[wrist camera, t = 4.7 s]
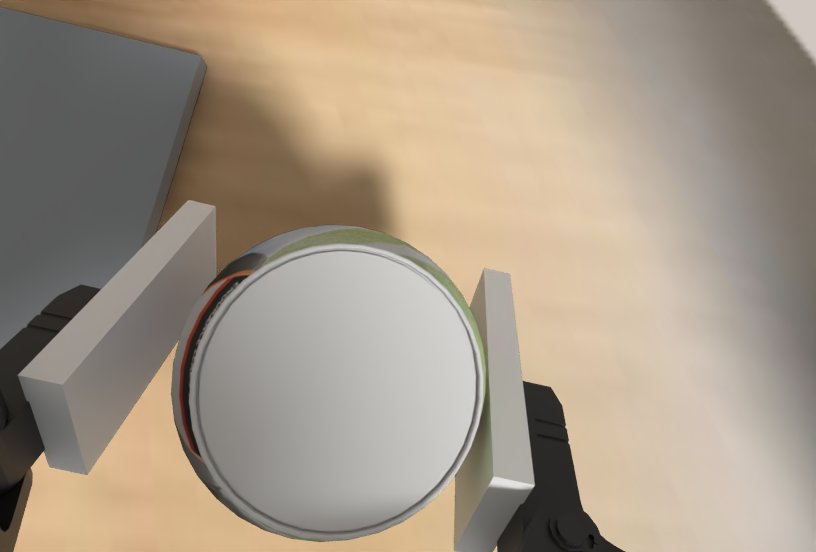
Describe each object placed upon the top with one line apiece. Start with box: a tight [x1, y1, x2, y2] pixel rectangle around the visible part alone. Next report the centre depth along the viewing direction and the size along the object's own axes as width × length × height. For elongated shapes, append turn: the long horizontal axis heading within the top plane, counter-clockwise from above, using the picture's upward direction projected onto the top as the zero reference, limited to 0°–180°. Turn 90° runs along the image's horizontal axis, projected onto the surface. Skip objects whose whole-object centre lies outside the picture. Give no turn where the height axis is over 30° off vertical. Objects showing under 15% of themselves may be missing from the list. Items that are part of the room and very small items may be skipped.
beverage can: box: [171, 225, 486, 542], centre depth 14 cm, size 6×7×12 cm
